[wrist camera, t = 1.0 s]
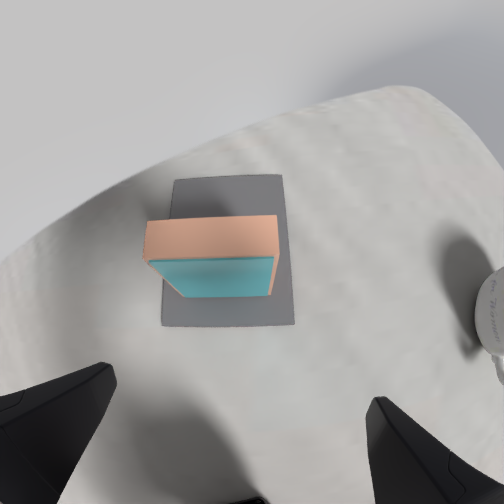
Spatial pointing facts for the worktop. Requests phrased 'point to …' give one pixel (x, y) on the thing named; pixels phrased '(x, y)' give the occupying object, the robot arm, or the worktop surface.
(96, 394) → the robot arm
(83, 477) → the worktop surface
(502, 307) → the teacup
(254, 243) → the pink and teal block
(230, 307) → the mat
